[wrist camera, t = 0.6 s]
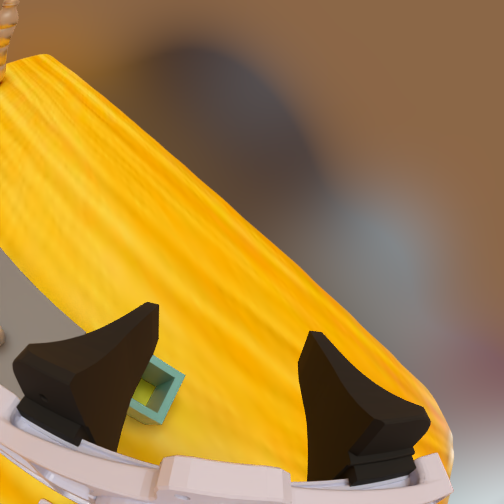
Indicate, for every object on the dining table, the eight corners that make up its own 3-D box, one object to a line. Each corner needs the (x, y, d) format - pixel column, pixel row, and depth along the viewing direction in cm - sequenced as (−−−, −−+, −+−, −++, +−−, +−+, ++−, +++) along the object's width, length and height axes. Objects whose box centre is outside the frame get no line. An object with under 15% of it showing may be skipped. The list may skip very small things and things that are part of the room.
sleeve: (144, 424, 21) (161, 424, 18) (100, 396, 20) (106, 390, 17) (164, 385, 25) (185, 375, 21) (123, 358, 24) (135, 342, 20)
